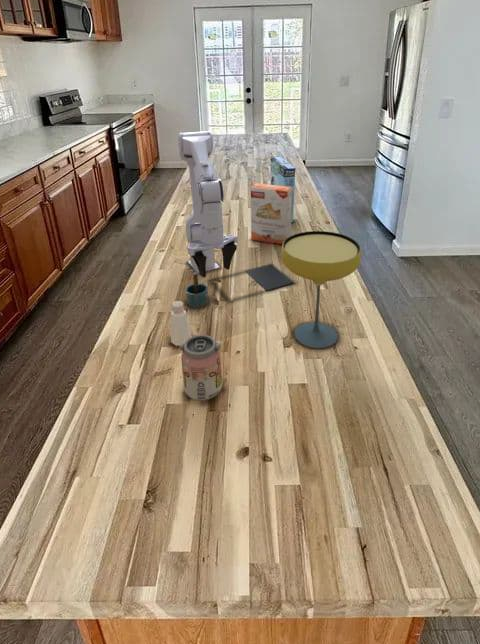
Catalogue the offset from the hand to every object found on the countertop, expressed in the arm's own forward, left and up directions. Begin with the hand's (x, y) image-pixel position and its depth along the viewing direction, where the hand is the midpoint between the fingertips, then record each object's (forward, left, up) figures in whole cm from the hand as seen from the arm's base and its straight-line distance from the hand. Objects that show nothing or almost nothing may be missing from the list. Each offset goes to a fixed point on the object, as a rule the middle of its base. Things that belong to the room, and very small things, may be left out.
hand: (215, 272), depth 120 cm
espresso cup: (-4, -5, -10) cm, 12 cm away
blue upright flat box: (-53, +52, -11) cm, 75 cm away
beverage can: (+29, -16, -11) cm, 35 cm away
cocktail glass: (+25, +16, -11) cm, 32 cm away
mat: (-7, +14, -10) cm, 19 cm away
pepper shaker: (+11, -15, -11) cm, 21 cm away
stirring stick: (-4, -5, -10) cm, 11 cm away
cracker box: (-32, +35, -11) cm, 49 cm away
